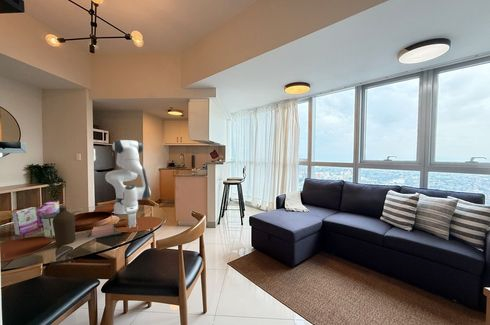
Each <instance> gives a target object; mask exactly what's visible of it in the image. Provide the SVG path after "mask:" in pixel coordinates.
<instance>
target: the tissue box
mask: <svg viewBox="0 0 490 325" xmlns="http://www.w3.org/2000/svg"><path fill="white" fill-rule="evenodd" d="M58 213H59V212H55V213H50V214H46V215H44V216H42V219H43V226H42V227H43V233H44V234H43V235H44V237H45V236H54V237H55V234H54V228H53V223H52V221H53V218H54V217H55V216H56V215H57V214H58Z"/></svg>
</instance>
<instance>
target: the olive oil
mask: <svg viewBox="0 0 490 325" xmlns="http://www.w3.org/2000/svg"><path fill="white" fill-rule="evenodd" d="M52 223H53V228H54V234H55V236H54V239H55V245H56V247H62V246H68V245H70V244H73V243H75V241H76V239H77V238H76V217H75V215H74V214H73V213H72V212H70V211H68V210H67V205H66V204H59V213H58V214H57V215H56V216H55V217H54V218H53V221H52Z"/></svg>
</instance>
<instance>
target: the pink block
mask: <svg viewBox="0 0 490 325" xmlns="http://www.w3.org/2000/svg"><path fill="white" fill-rule="evenodd" d="M114 228H115V224H114V223H111V224H106V225H100V226H93V228H92V230H91V233H92V237H95V236H100V235H105V234H111V233H114Z"/></svg>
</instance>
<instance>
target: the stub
mask: <svg viewBox="0 0 490 325" xmlns="http://www.w3.org/2000/svg"><path fill="white" fill-rule="evenodd" d="M127 222H128V223H127V226H128V225H129V228H131V224H129V220H127ZM136 224H137V220H136V221H135V223H134V227H136Z"/></svg>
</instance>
